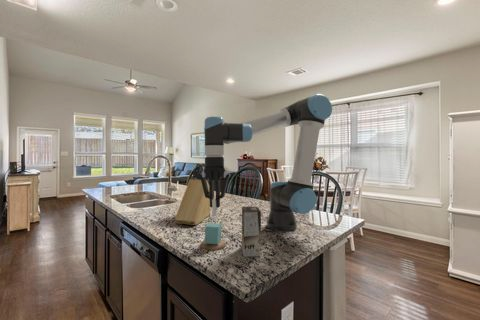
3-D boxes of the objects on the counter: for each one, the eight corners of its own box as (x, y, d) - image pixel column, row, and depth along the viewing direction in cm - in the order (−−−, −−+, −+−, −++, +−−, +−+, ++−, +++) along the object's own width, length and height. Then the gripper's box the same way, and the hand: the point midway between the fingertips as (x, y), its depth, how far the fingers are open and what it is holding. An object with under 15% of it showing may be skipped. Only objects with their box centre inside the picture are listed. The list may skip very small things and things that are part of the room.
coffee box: (261, 256, 82) (261, 211, 82) (243, 257, 81) (243, 211, 81) (257, 246, 91) (257, 206, 91) (240, 247, 90) (241, 206, 90)
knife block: (215, 211, 149) (215, 163, 149) (195, 227, 114) (195, 165, 114) (198, 210, 151) (199, 163, 151) (174, 226, 116) (174, 165, 116)
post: (228, 241, 96) (228, 223, 96) (222, 251, 86) (222, 231, 86) (205, 239, 98) (205, 222, 97) (197, 249, 88) (197, 229, 88)
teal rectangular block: (221, 239, 94) (221, 223, 94) (217, 244, 89) (218, 227, 89) (208, 238, 95) (209, 222, 95) (204, 243, 90) (205, 226, 90)
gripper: (232, 156, 94) (232, 213, 94) (201, 156, 96) (202, 212, 97) (228, 156, 87) (228, 218, 87) (195, 156, 89) (196, 217, 89)
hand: (215, 215), depth 92 cm, fingers closed
